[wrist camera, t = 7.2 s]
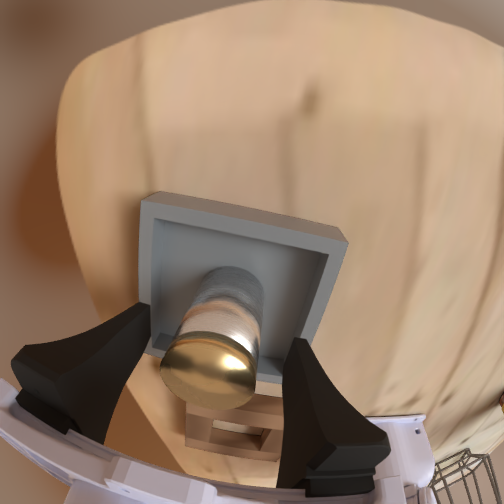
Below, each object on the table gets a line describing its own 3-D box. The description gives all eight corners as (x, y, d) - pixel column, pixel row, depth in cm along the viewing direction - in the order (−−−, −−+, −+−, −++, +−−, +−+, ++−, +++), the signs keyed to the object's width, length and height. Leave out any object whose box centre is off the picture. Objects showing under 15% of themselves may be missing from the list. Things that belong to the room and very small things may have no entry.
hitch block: (305, 400, 21) (306, 418, 19) (276, 447, 25) (276, 461, 23) (192, 380, 21) (186, 397, 19) (189, 431, 25) (185, 445, 23)
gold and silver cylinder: (271, 273, 16) (264, 360, 9) (257, 327, 17) (246, 416, 11) (202, 259, 16) (158, 335, 9) (197, 314, 17) (161, 396, 11)
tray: (338, 227, 15) (348, 242, 13) (291, 361, 19) (292, 385, 17) (159, 191, 15) (141, 200, 13) (154, 331, 19) (141, 352, 17)
